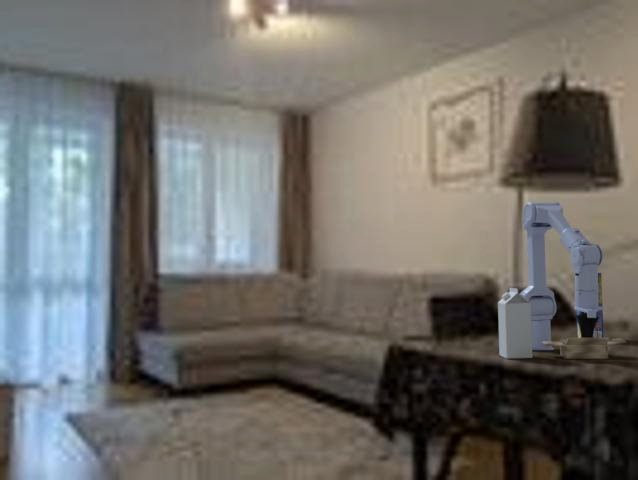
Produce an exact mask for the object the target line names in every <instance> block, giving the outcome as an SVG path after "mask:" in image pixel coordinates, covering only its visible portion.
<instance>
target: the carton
mask: <svg viewBox="0 0 638 480" xmlns="http://www.w3.org/2000/svg"><path fill="white" fill-rule="evenodd" d="M567 339H568V338H566V339H565V338H564V339H561V338H560V339H558V341H557V340H556V341H552V340H551V341H542V343H543V344H544V345H545V346H552V347H560V348H559V349H560V350H559V351H560V356H561V358H563V359H564V360H609V347H608V346H609V345H606V346H567V345H566V342H567Z"/></svg>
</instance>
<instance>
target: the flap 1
mask: <svg viewBox="0 0 638 480" xmlns="http://www.w3.org/2000/svg"><path fill="white" fill-rule="evenodd" d="M566 339H567V342H566V345H567V346H606V345H607V343H608V341H609V340H610V337H603V338H577V337H567V338H566ZM607 346H608V345H607Z"/></svg>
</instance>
